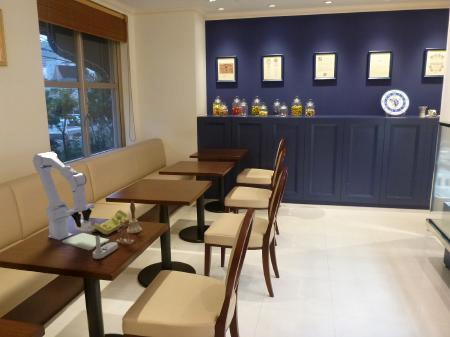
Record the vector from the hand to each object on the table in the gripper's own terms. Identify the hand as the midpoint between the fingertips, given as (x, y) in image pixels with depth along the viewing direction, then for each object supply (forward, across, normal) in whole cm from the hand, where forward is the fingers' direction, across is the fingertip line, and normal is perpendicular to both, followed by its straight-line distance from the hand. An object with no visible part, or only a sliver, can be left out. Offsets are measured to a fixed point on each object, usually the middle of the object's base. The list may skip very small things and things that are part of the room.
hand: (82, 225), depth 183 cm
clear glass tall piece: (+9, +10, -18) cm, 22 cm away
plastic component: (+9, +21, +4) cm, 23 cm away
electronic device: (+9, -3, -19) cm, 21 cm away
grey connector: (+2, 0, -1) cm, 2 cm away
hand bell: (+9, +24, -10) cm, 27 cm away
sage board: (+9, +1, 0) cm, 9 cm away
